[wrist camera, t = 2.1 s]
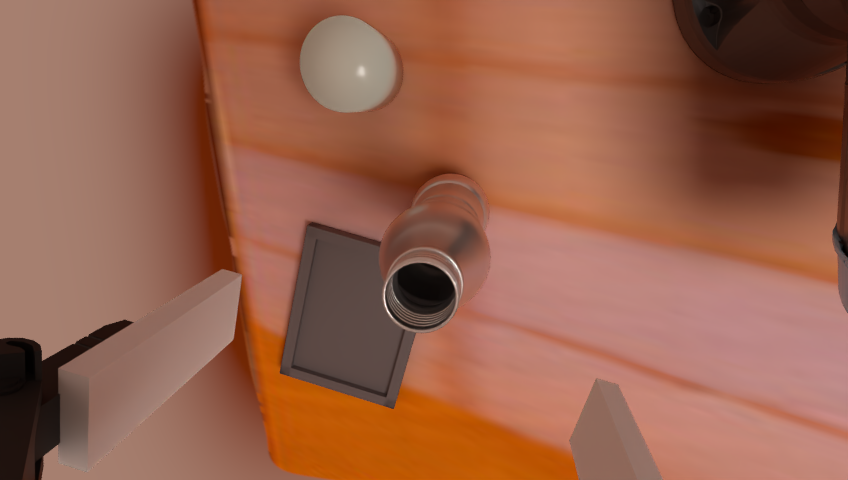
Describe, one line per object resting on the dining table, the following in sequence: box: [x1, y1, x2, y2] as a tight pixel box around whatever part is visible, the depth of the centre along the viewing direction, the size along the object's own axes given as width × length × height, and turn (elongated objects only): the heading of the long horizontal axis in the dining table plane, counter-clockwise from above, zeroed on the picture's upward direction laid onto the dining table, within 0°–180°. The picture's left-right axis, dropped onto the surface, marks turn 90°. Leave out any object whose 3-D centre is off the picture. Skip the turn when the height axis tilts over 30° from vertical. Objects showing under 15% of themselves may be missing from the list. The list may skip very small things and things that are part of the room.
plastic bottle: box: [379, 174, 491, 333], centre depth 30 cm, size 6×7×20 cm
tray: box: [280, 222, 416, 409], centre depth 43 cm, size 16×12×1 cm
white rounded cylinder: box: [300, 15, 403, 113], centre depth 35 cm, size 6×6×6 cm
